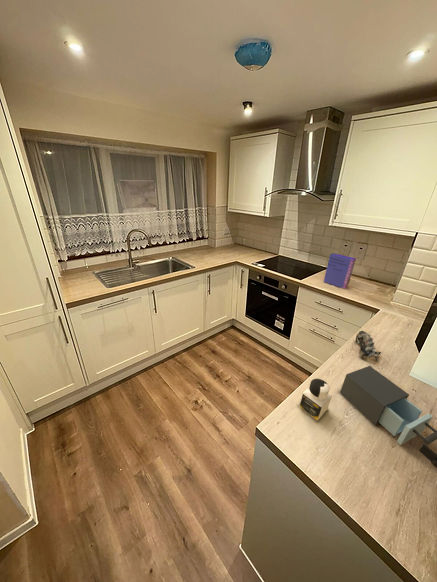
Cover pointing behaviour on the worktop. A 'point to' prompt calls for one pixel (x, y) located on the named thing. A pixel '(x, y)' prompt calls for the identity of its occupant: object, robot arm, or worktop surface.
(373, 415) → the dark grey drawer box
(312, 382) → the medicine bottle
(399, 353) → the worktop surface
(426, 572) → the worktop surface
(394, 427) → the light blue drawer
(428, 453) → the robot arm
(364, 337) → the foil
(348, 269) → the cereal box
